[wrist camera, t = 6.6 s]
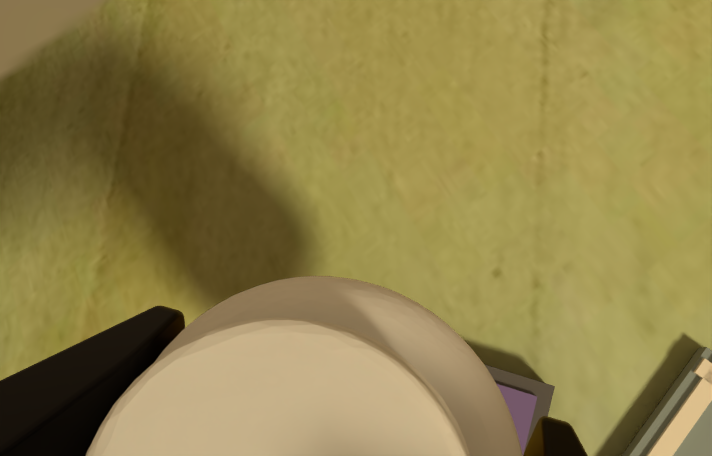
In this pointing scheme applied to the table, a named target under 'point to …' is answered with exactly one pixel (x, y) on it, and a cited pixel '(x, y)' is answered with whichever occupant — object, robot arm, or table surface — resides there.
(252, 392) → the supplement bottle
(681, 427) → the marked board
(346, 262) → the table surface
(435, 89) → the table surface
